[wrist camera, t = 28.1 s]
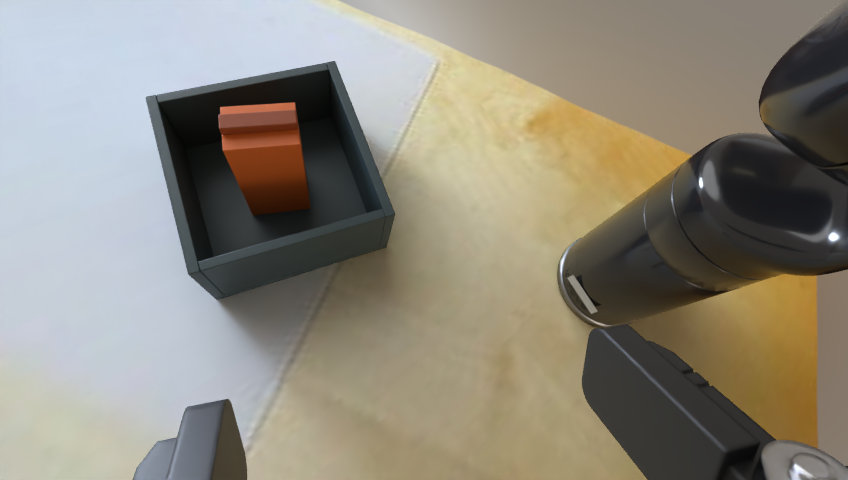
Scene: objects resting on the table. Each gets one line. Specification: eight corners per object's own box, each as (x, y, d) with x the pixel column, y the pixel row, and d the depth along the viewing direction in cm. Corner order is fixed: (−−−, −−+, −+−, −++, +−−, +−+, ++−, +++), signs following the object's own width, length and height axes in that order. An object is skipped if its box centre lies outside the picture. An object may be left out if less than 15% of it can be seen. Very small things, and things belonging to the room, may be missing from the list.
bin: (336, 113, 48) (334, 60, 41) (386, 247, 44) (395, 214, 36) (177, 148, 44) (145, 96, 37) (216, 300, 39) (188, 274, 32)
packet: (306, 175, 44) (293, 95, 33) (310, 209, 43) (299, 137, 32) (249, 180, 43) (216, 99, 32) (252, 215, 42) (219, 144, 31)
